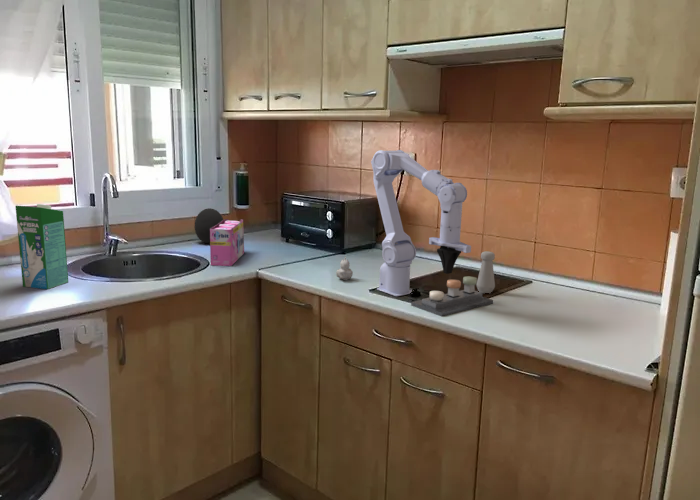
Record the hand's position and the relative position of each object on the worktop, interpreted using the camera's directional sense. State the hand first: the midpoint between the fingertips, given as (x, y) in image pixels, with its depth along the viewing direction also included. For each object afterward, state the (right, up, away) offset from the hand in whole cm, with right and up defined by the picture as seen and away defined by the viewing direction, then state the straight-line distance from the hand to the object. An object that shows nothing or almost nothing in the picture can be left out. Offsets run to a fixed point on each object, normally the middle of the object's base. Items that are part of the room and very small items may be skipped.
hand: (447, 272), depth 168 cm
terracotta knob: (+2, -7, +3) cm, 8 cm away
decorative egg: (-88, +9, +82) cm, 120 cm away
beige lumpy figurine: (-30, -4, +28) cm, 41 cm away
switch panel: (+2, -9, +4) cm, 10 cm away
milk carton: (-122, -4, +13) cm, 123 cm away
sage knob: (+8, -6, +7) cm, 12 cm away
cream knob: (-3, -10, 0) cm, 10 cm away
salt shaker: (+15, -7, +18) cm, 24 cm away
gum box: (-74, +3, +54) cm, 92 cm away
